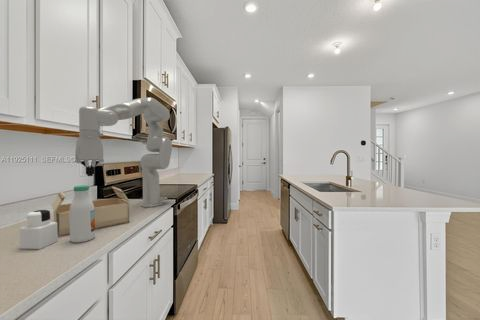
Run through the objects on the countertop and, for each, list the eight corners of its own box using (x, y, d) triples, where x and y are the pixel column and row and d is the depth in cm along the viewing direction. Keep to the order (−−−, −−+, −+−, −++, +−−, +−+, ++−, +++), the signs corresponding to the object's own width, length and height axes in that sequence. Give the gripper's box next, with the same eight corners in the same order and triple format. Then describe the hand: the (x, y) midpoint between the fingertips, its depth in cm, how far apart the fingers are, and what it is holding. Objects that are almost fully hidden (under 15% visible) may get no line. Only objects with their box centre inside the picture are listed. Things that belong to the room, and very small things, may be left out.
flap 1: (53, 205, 99) (62, 191, 101) (55, 212, 87) (65, 196, 89) (51, 204, 99) (60, 191, 101) (53, 211, 86) (63, 196, 88)
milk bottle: (85, 243, 80) (84, 187, 79) (64, 243, 80) (62, 187, 79) (99, 235, 88) (98, 184, 87) (80, 235, 88) (78, 184, 87)
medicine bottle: (39, 240, 82) (38, 208, 82) (58, 241, 82) (57, 208, 82) (19, 249, 75) (18, 213, 75) (39, 249, 75) (38, 213, 75)
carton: (118, 214, 118) (117, 197, 118) (129, 222, 103) (129, 203, 103) (53, 225, 100) (53, 205, 100) (57, 237, 86) (56, 213, 86)
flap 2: (119, 196, 117) (112, 186, 115) (129, 201, 105) (121, 189, 102) (118, 197, 117) (111, 186, 114) (128, 202, 104) (120, 190, 102)
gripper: (106, 136, 108) (107, 174, 109) (67, 134, 98) (68, 176, 99) (110, 135, 103) (110, 175, 103) (69, 133, 93) (70, 177, 93)
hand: (90, 175), depth 101 cm, fingers closed
